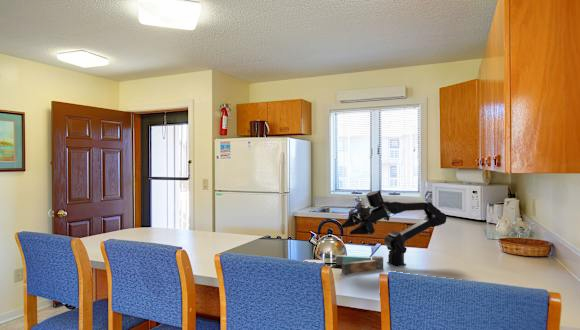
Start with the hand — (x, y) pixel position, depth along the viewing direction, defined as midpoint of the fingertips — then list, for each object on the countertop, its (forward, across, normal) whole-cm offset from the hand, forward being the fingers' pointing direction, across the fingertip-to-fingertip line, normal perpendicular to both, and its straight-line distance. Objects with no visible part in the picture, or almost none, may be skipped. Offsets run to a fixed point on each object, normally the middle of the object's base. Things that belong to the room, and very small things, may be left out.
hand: (345, 230), depth 173 cm
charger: (+23, +8, +8) cm, 26 cm away
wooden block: (+1, +8, +17) cm, 19 cm away
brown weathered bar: (+2, 0, +18) cm, 18 cm away
